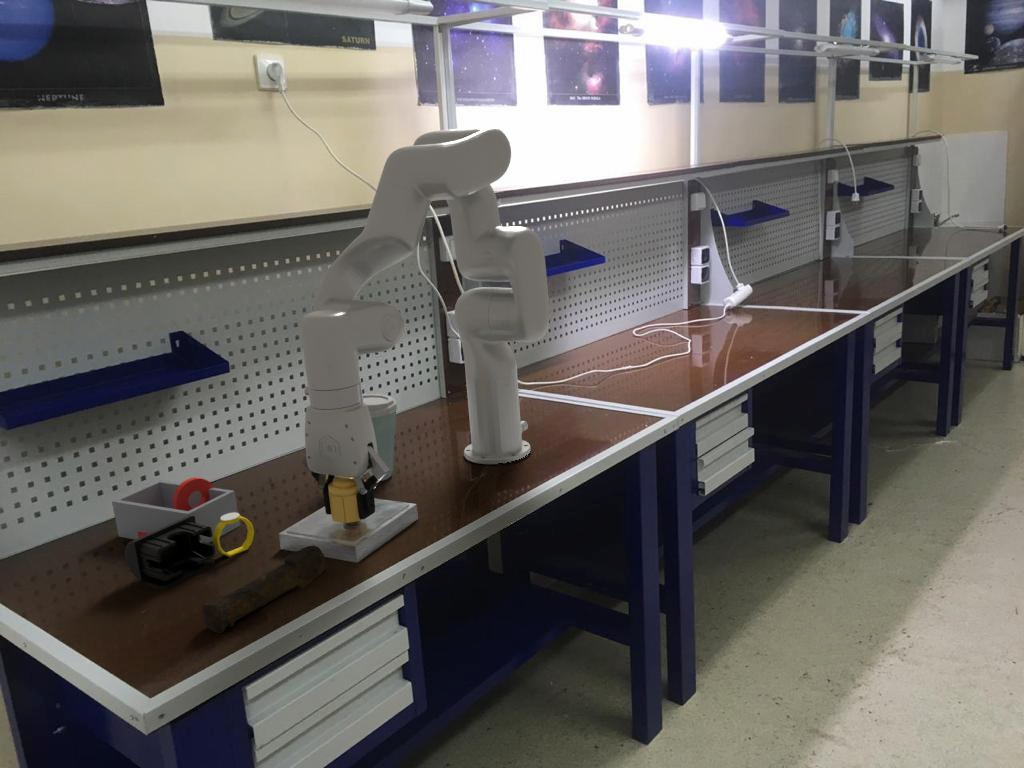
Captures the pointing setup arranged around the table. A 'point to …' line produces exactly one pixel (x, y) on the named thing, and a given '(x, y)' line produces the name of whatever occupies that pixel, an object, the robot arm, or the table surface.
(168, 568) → the end cap
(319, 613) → the table surface
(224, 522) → the watch
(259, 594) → the dark brown wood branch
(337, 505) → the wire nut
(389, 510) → the plate
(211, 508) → the parts corral
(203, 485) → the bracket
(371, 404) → the disposable coffee cup
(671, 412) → the table surface
